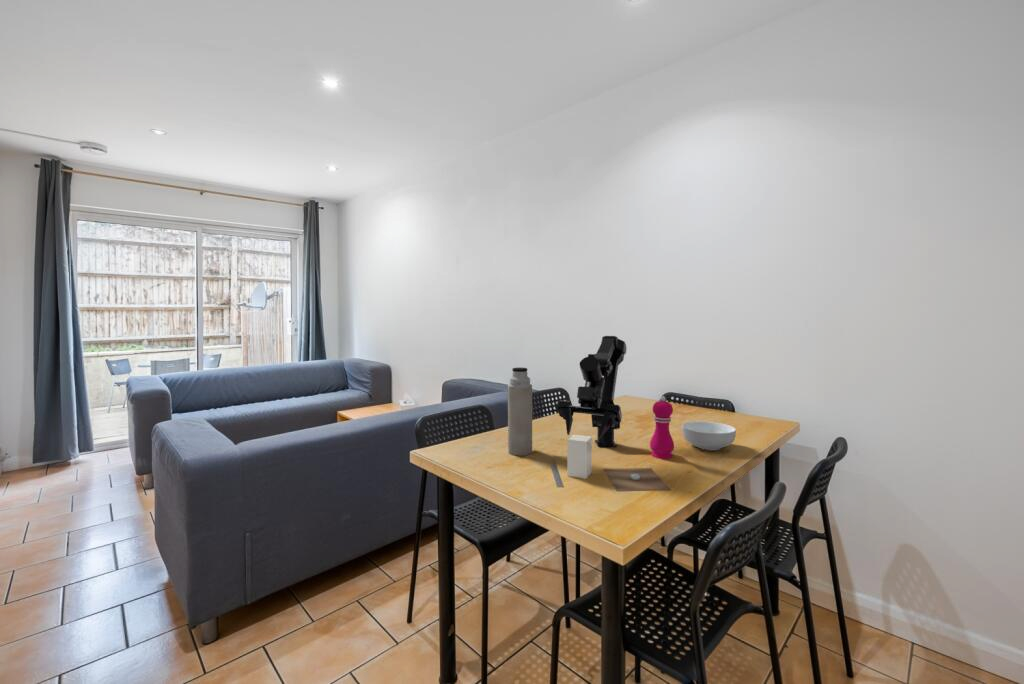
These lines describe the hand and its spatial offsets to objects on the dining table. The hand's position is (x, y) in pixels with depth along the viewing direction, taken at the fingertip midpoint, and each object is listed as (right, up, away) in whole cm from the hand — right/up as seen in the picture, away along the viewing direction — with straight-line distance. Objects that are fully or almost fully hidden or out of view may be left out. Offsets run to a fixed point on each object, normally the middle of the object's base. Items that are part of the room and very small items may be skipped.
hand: (583, 436), depth 130 cm
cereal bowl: (+46, -9, +25) cm, 53 cm away
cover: (-2, -11, -3) cm, 11 cm away
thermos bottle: (-18, -10, +20) cm, 29 cm away
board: (+13, -11, -7) cm, 18 cm away
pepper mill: (+26, -10, +12) cm, 31 cm away
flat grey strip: (-2, -11, -2) cm, 11 cm away
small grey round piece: (+13, -10, -7) cm, 18 cm away
